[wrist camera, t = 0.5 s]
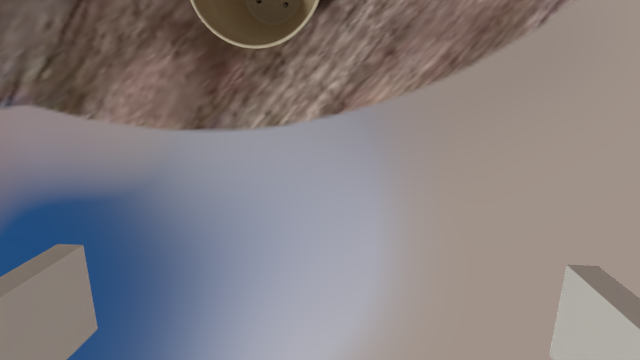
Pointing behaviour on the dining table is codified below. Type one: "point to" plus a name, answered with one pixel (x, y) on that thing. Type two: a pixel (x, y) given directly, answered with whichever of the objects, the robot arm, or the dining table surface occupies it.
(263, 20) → the flower pot
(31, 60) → the dining table surface
